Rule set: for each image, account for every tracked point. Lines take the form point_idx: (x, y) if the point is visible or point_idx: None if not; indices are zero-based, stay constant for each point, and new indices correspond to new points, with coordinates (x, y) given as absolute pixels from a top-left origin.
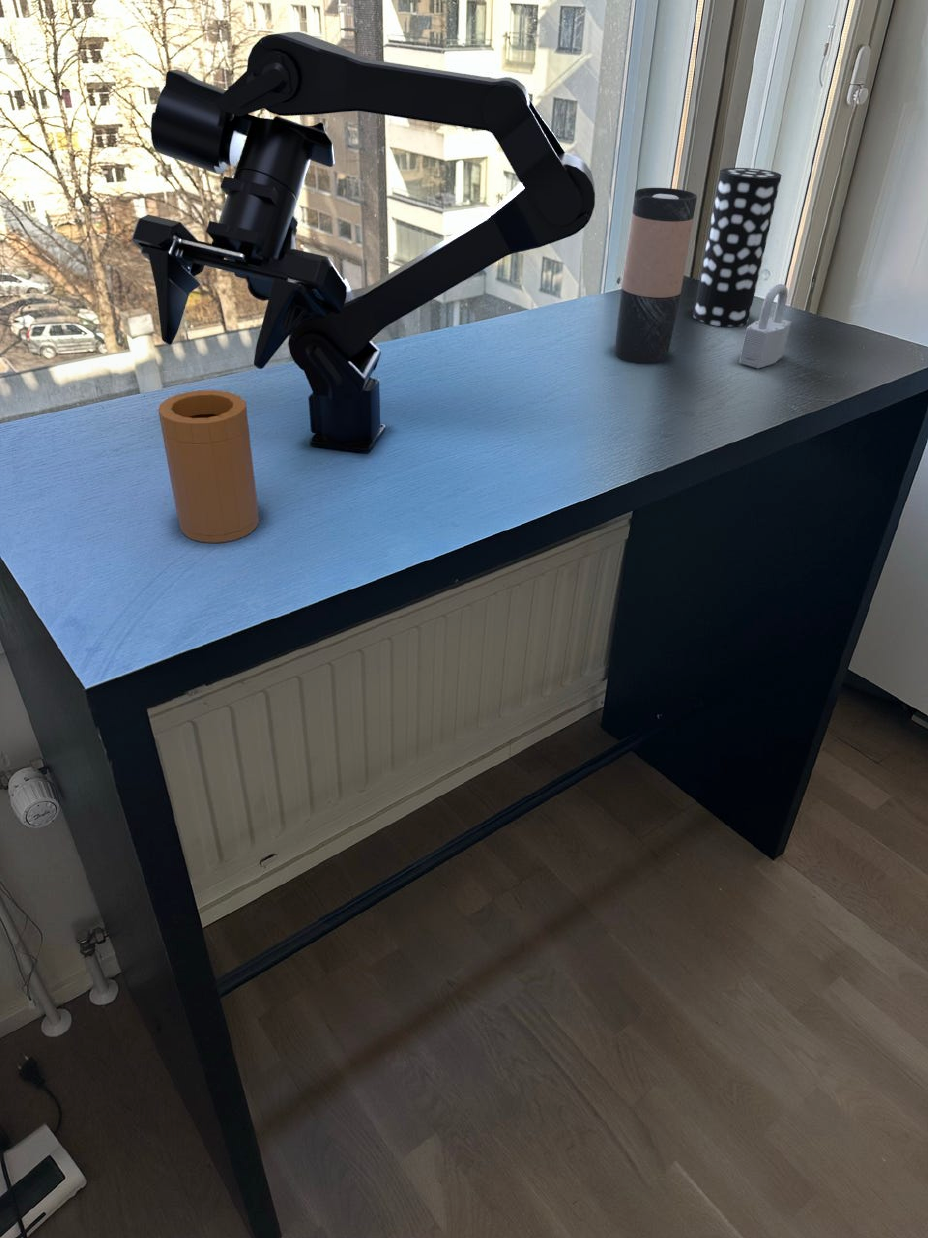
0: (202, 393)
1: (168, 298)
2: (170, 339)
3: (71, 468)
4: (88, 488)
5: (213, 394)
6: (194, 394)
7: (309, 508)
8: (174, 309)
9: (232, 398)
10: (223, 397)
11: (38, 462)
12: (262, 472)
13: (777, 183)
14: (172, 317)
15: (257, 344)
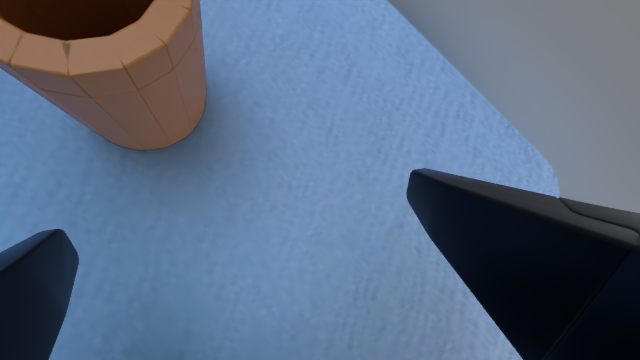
0: (134, 32)
1: (518, 215)
2: (413, 195)
3: (427, 123)
4: (371, 92)
5: (97, 38)
6: (148, 14)
7: (35, 204)
8: (482, 244)
9: (11, 33)
10: (57, 40)
11: (466, 116)
12: (200, 261)
13: None
14: (458, 220)
15: (10, 263)
